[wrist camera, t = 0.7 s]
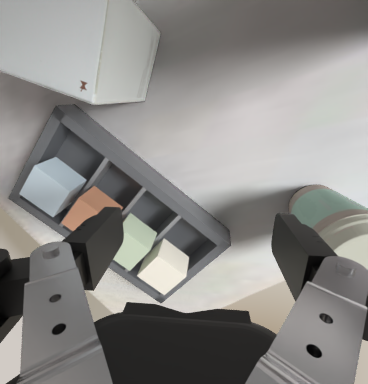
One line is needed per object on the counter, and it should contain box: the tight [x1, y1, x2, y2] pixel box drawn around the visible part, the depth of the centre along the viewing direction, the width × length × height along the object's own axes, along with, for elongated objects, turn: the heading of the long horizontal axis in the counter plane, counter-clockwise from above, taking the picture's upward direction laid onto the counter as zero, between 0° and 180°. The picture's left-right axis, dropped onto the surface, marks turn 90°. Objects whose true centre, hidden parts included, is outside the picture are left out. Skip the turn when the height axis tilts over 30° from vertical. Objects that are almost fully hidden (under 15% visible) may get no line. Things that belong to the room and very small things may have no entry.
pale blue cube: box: [19, 157, 87, 217], centre depth 27 cm, size 4×4×4 cm
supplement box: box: [0, 0, 161, 105], centre depth 19 cm, size 7×7×13 cm
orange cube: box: [62, 186, 123, 231], centre depth 28 cm, size 4×4×4 cm
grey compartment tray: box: [9, 105, 231, 303], centre depth 31 cm, size 15×26×4 cm, turn 50°
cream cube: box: [137, 238, 189, 295], centre depth 29 cm, size 4×4×4 cm
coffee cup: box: [289, 185, 368, 270], centre depth 24 cm, size 9×8×12 cm
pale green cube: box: [113, 213, 157, 271], centre depth 28 cm, size 4×4×4 cm
